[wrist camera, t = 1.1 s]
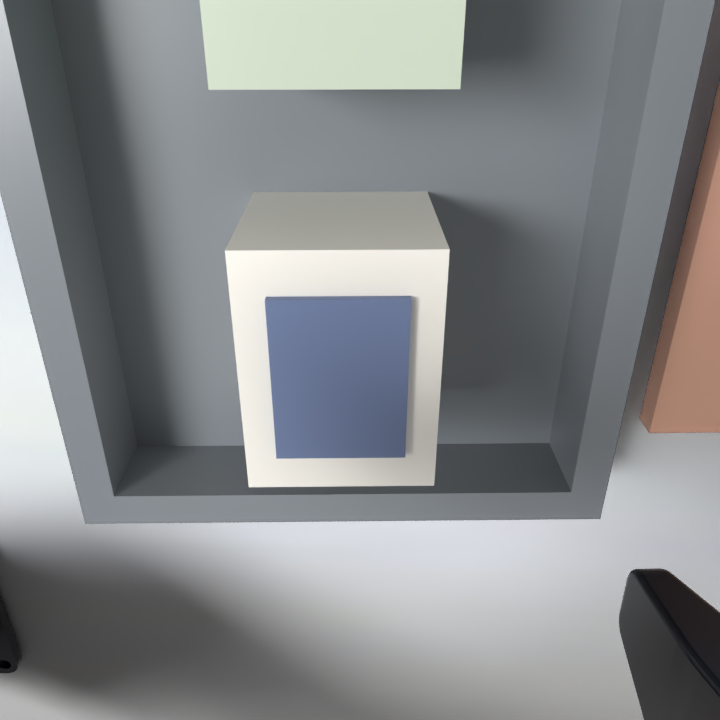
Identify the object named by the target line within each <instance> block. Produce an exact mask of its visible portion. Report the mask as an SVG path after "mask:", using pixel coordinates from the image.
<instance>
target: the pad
mask: <svg viewBox="0 0 720 720" xmlns="http://www.w3.org/2000/svg"><path fill="white" fill-rule="evenodd" d="M640 420H641V421H642V423H643V424H644V426H645V427H646V429H647V430H648V432H649V433H696V432H720V81H719V85H718V89H717V94H716V98H715V102H714V106H713V110H712V115H711V119H710V123H709V127H708V132H707V136H706V140H705V144H704V148H703V153H702V157H701V161H700V165H699V170H698V174H697V178H696V182H695V187H694V191H693V195H692V199H691V203H690V208H689V212H688V216H687V220H686V225H685V229H684V233H683V237H682V241H681V246H680V250H679V254H678V258H677V263H676V267H675V271H674V275H673V280H672V284H671V288H670V292H669V296H668V301H667V305H666V309H665V313H664V318H663V322H662V326H661V330H660V334H659V339H658V343H657V347H656V351H655V356H654V360H653V364H652V368H651V373H650V377H649V381H648V385H647V389H646V394H645V398H644V402H643V406H642V411H641V415H640Z"/></svg>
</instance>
